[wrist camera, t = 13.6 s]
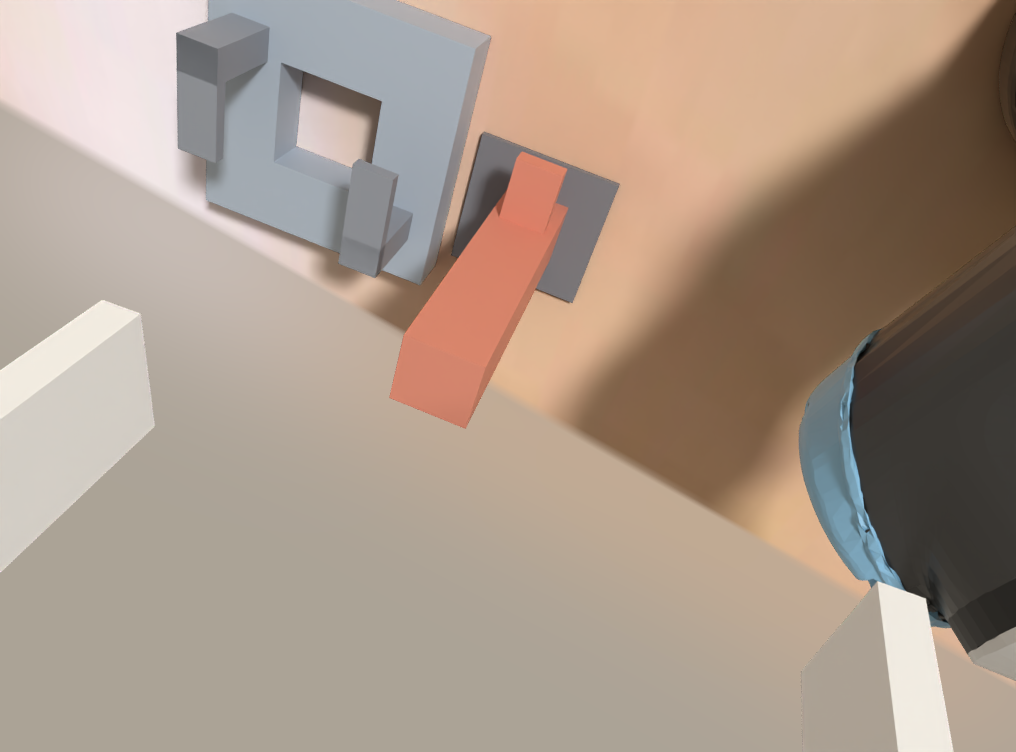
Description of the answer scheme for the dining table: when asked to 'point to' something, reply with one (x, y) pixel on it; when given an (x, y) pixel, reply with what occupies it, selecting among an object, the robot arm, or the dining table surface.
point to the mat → (578, 193)
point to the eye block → (275, 114)
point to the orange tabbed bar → (482, 298)
